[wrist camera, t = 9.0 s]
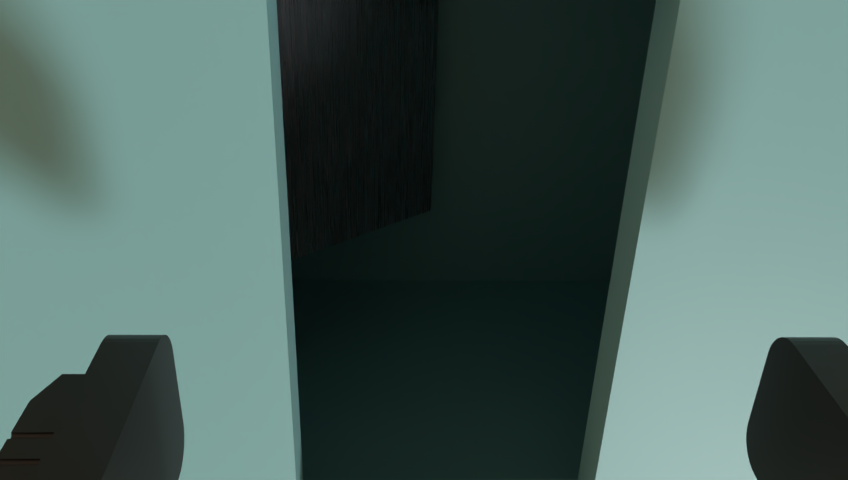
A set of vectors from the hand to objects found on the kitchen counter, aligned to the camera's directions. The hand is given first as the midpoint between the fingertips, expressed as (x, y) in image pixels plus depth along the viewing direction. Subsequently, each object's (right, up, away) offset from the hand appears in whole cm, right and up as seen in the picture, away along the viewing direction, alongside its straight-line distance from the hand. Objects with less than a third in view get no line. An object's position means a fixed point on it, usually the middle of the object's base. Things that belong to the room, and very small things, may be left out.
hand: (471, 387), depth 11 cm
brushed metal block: (-1, +6, +12) cm, 13 cm away
